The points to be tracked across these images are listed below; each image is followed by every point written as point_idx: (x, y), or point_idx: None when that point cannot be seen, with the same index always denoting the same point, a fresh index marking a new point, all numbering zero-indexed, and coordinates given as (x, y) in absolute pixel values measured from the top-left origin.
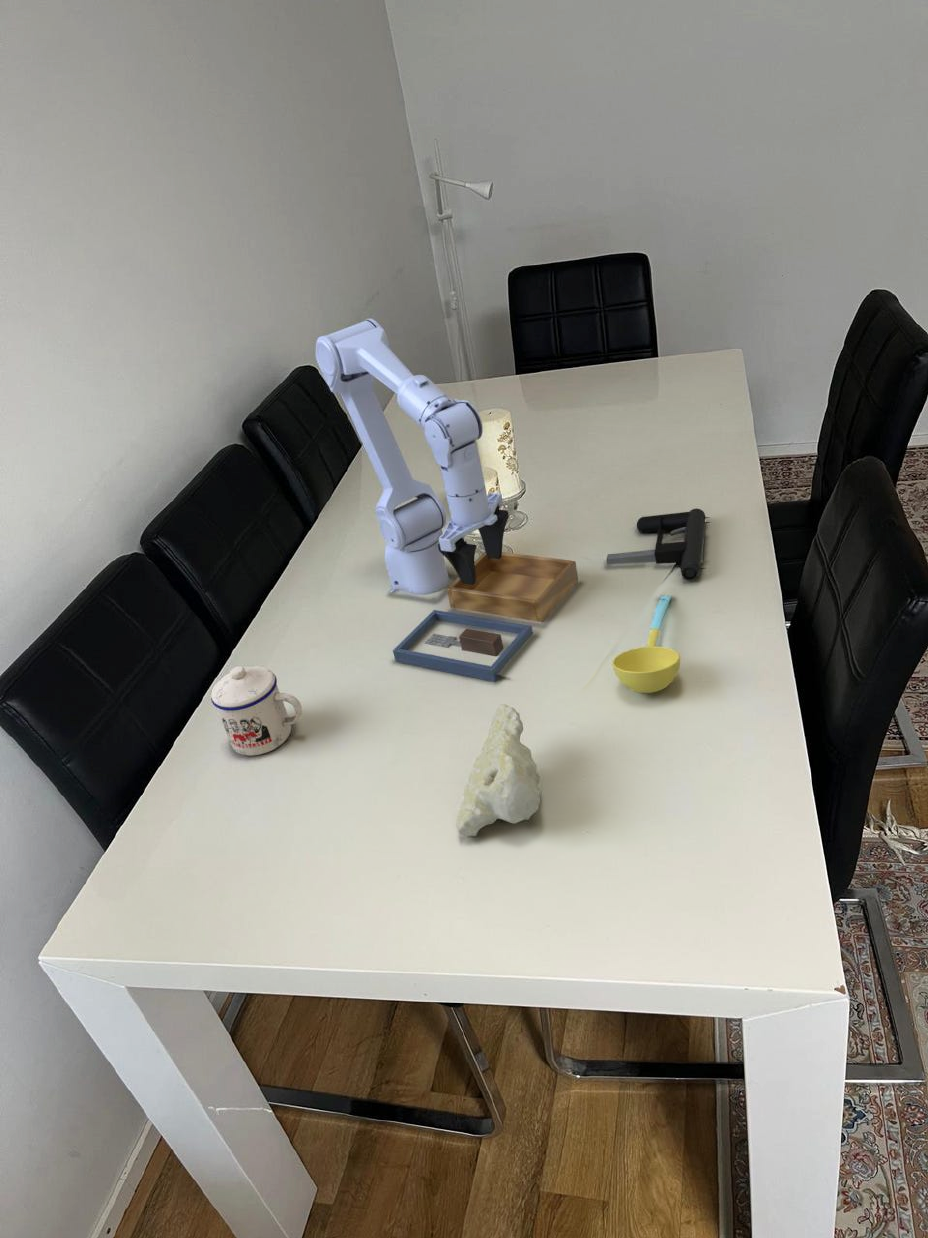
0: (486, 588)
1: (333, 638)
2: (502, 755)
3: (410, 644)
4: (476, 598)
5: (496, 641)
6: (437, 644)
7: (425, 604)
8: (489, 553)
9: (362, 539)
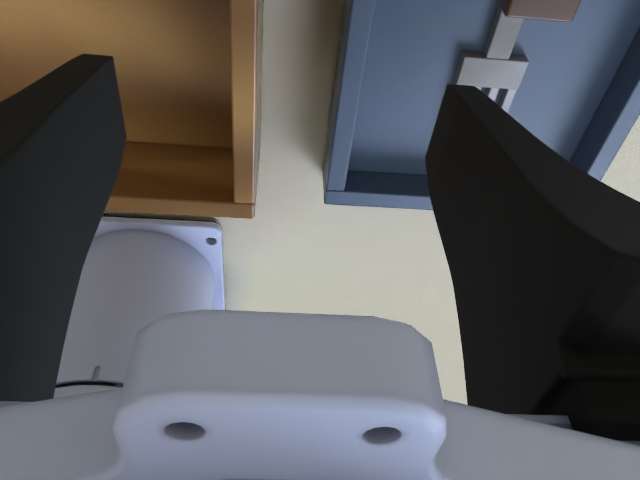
0: None
1: (436, 350)
2: None
3: None
4: (257, 81)
5: None
6: (510, 103)
7: (240, 240)
8: (117, 143)
9: None
